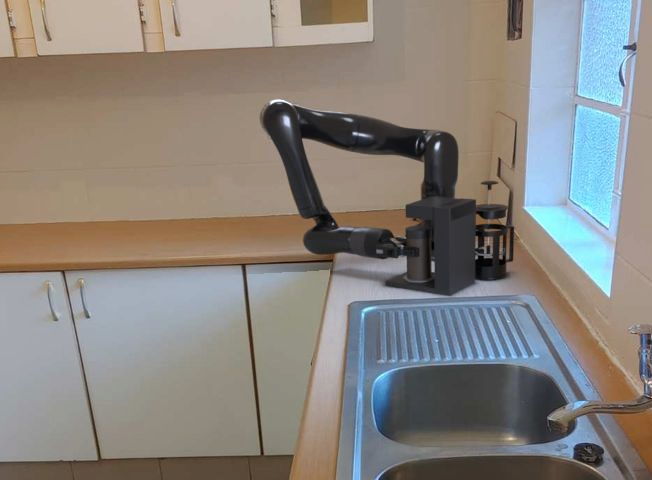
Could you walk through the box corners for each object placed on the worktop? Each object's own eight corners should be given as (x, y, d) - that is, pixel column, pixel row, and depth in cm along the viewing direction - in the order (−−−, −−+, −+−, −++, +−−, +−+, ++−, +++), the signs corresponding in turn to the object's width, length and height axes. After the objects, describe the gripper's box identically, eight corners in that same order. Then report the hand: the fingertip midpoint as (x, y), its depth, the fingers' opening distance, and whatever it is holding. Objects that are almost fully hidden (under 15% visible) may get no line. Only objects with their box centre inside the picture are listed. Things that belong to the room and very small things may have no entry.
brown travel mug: (411, 272, 188) (410, 225, 183) (435, 274, 186) (434, 225, 181) (403, 279, 183) (401, 230, 178) (427, 280, 180) (426, 231, 176)
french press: (475, 282, 182) (476, 186, 173) (460, 273, 190) (460, 180, 181) (520, 276, 184) (523, 181, 175) (503, 267, 193) (505, 176, 184)
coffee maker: (385, 285, 184) (382, 203, 176) (412, 273, 193) (411, 194, 185) (449, 295, 173) (449, 208, 166) (475, 282, 182) (476, 199, 174)
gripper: (353, 233, 183) (410, 240, 174) (387, 222, 193) (442, 227, 184) (355, 263, 186) (410, 271, 176) (388, 251, 196) (442, 257, 187)
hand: (426, 249), depth 180 cm, fingers open, 7 cm apart
